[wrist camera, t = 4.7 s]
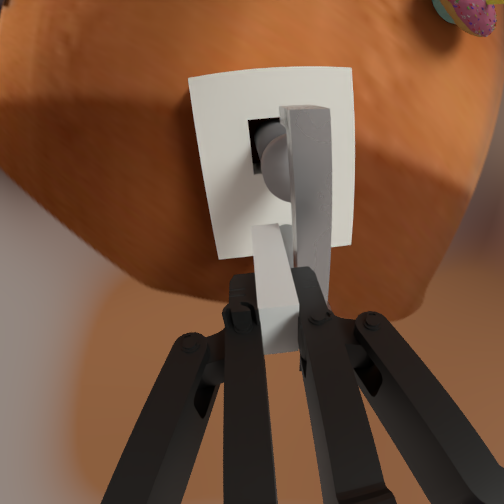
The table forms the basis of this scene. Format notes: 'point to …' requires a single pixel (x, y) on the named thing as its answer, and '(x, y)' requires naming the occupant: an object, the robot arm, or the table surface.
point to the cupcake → (469, 14)
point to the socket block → (250, 175)
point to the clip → (310, 187)
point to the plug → (274, 157)
